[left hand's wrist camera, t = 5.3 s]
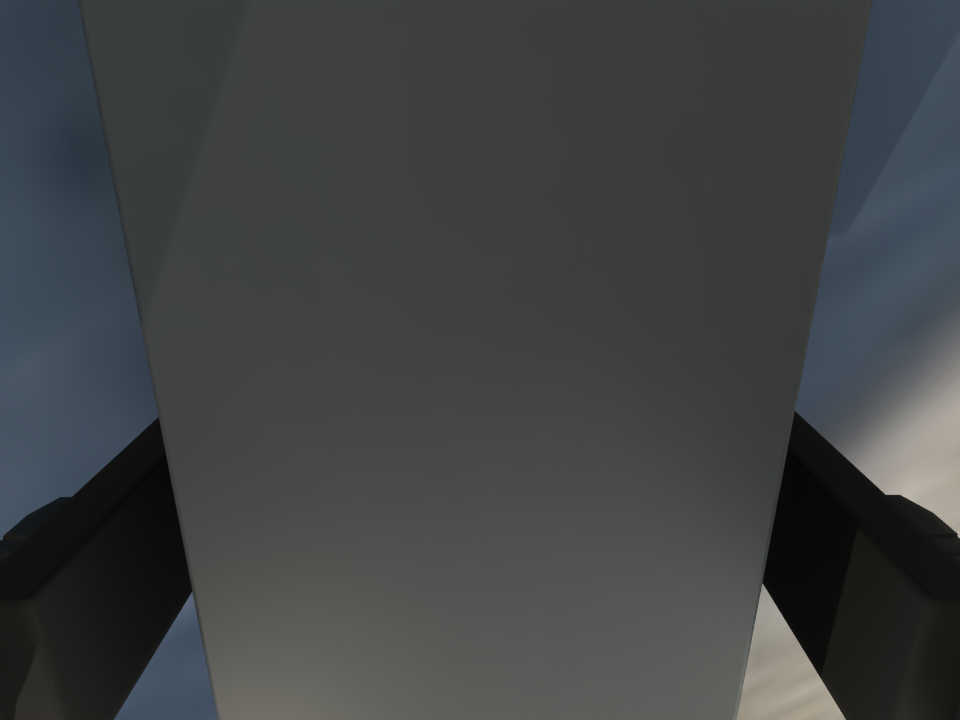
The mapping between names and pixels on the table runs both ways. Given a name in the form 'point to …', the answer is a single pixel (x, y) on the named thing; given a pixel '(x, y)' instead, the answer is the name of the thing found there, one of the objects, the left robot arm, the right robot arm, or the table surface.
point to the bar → (475, 334)
